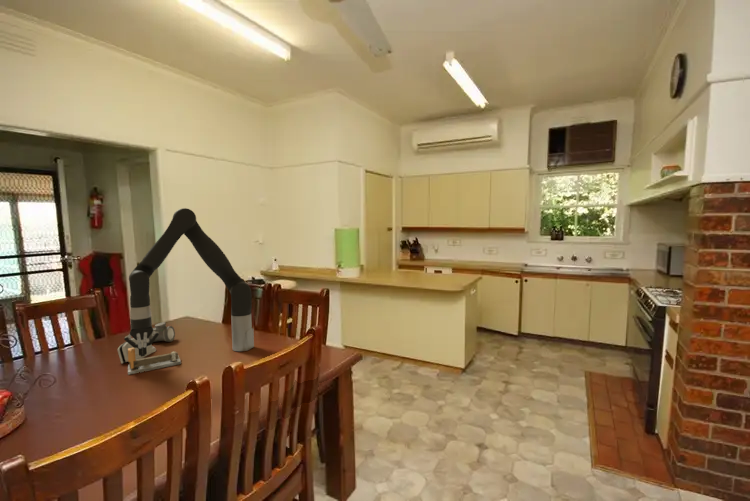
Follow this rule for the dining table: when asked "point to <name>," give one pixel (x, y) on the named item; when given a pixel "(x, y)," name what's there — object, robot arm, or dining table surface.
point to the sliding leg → (131, 356)
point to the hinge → (124, 350)
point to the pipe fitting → (163, 332)
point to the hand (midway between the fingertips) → (142, 355)
